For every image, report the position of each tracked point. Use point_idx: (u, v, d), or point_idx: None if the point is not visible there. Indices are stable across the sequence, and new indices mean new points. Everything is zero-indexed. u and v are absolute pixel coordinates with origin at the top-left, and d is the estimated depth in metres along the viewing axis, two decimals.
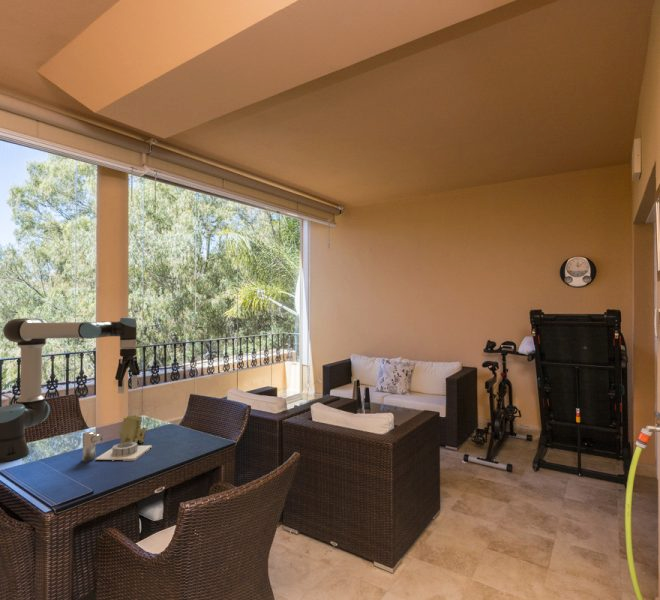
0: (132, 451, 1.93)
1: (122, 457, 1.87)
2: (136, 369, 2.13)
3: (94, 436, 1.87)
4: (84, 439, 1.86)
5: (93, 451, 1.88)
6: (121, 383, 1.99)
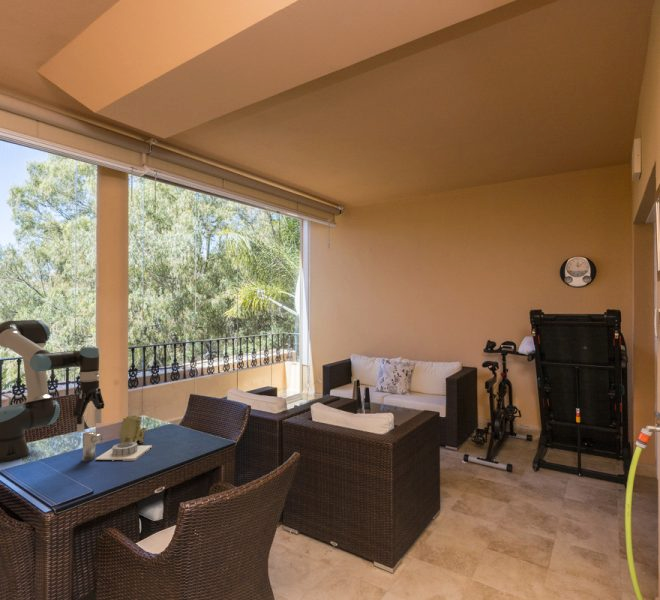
0: (132, 451, 1.93)
1: (122, 457, 1.87)
2: (100, 402, 1.95)
3: (94, 436, 1.87)
4: (84, 439, 1.86)
5: (93, 451, 1.88)
6: (80, 420, 1.81)
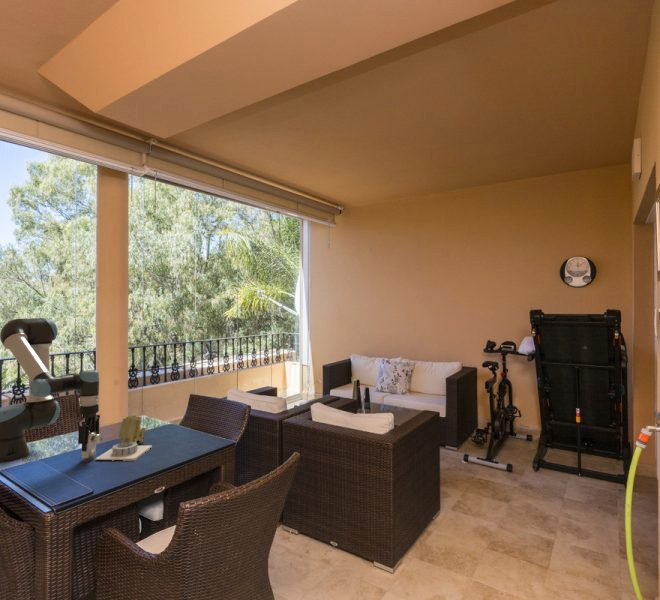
0: (132, 451, 1.93)
1: (122, 457, 1.87)
2: (96, 431, 1.92)
3: (94, 436, 1.87)
4: None
5: (93, 451, 1.88)
6: (85, 447, 1.84)
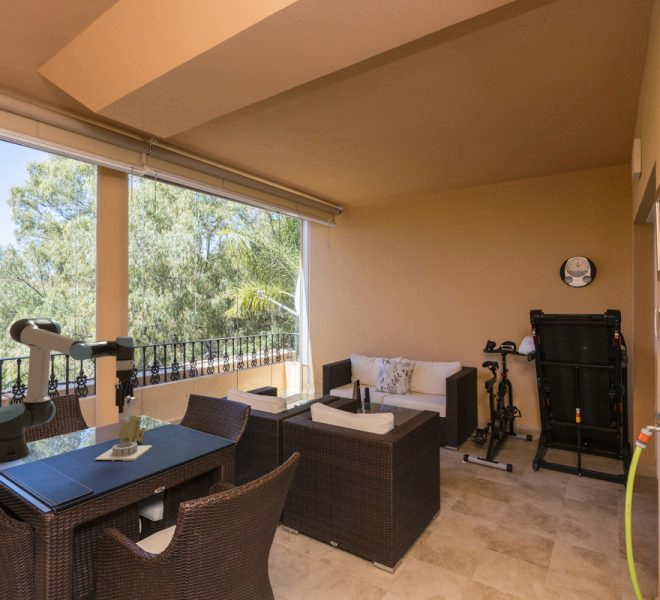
0: (132, 451, 1.93)
1: (122, 457, 1.87)
2: (130, 395, 1.99)
3: (130, 399, 1.94)
4: None
5: (129, 414, 1.95)
6: (122, 409, 1.92)
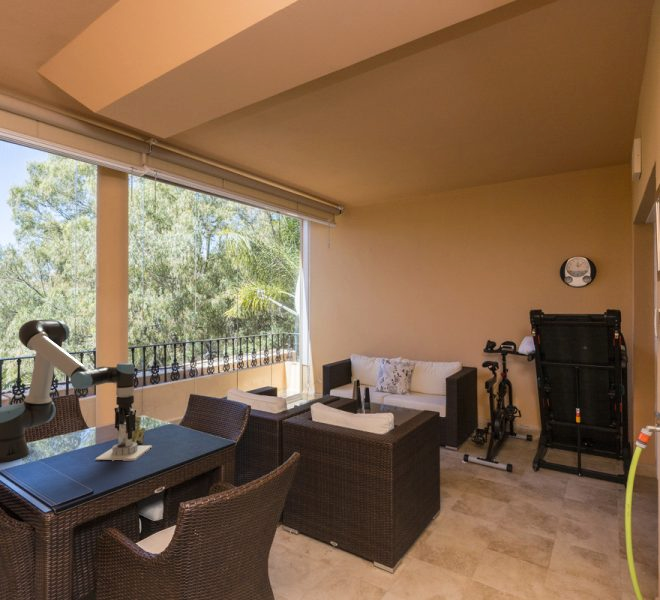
0: (132, 451, 1.93)
1: (122, 457, 1.87)
2: None
3: None
4: (126, 429, 1.94)
5: None
6: None
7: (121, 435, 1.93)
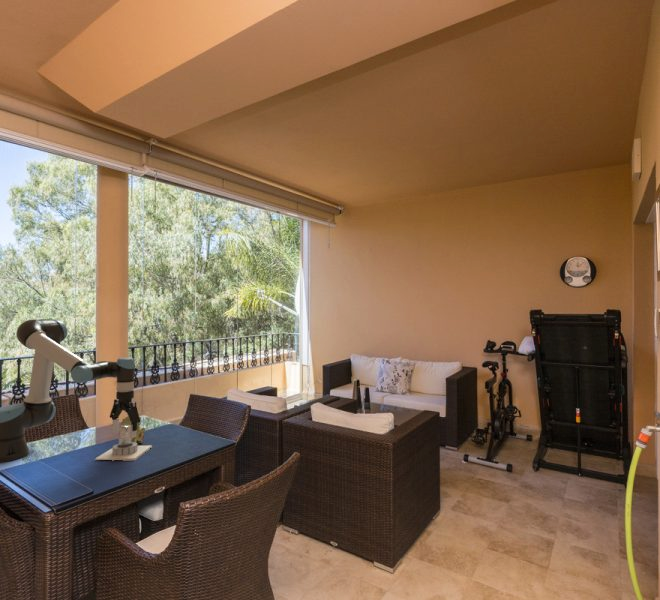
0: (132, 451, 1.93)
1: (122, 457, 1.87)
2: None
3: None
4: (126, 431, 1.94)
5: None
6: None
7: (121, 438, 1.93)
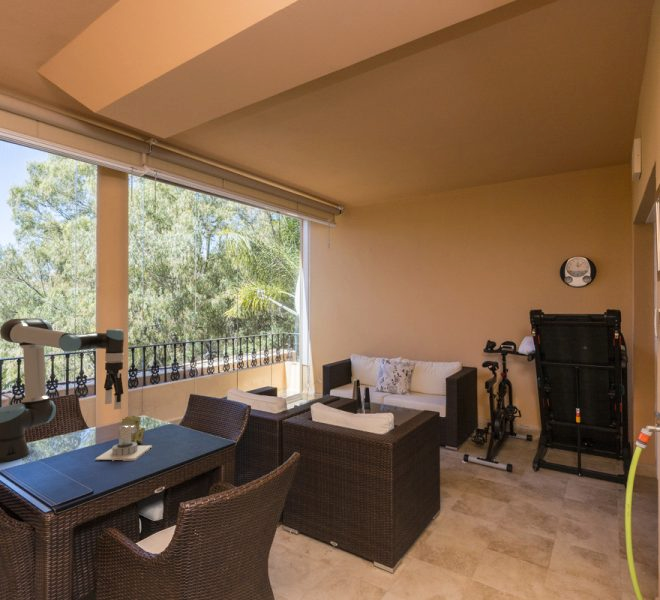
0: (132, 451, 1.93)
1: (122, 457, 1.87)
2: None
3: (132, 427, 1.98)
4: (126, 431, 1.94)
5: None
6: None
7: (121, 438, 1.93)
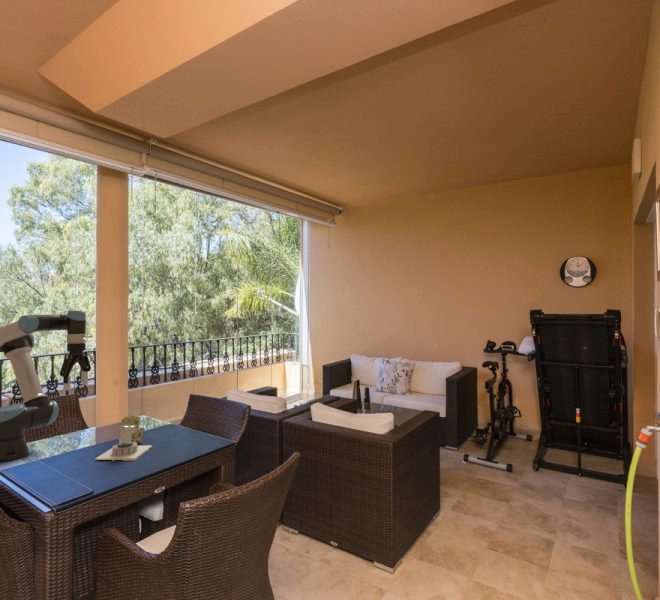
0: (132, 451, 1.93)
1: (122, 457, 1.87)
2: (86, 365, 2.02)
3: (132, 427, 1.98)
4: (126, 431, 1.94)
5: None
6: (66, 379, 1.87)
7: (121, 438, 1.93)
